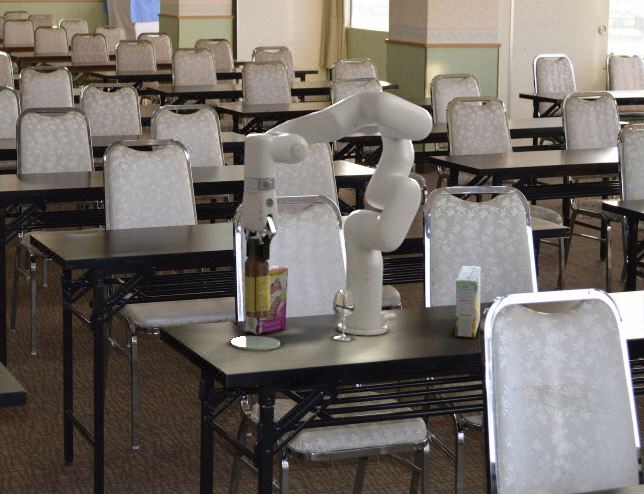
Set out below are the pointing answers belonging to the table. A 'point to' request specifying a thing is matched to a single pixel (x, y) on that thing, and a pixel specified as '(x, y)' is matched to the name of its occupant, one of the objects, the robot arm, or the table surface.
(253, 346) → the coaster
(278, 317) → the candy bar box
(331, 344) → the table surface
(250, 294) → the sauce bottle
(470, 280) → the snack box
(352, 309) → the wineglass
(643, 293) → the table surface
